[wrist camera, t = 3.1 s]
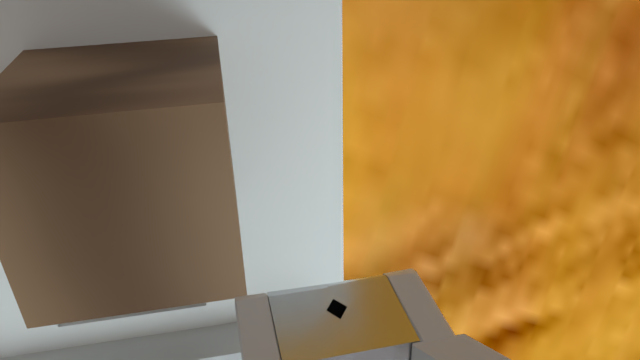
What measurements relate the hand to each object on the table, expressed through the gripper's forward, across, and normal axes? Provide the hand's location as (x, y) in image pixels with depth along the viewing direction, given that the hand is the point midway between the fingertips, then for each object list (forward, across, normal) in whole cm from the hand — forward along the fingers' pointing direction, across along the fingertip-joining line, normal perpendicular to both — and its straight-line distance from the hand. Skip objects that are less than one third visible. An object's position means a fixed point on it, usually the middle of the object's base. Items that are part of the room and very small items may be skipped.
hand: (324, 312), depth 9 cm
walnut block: (+9, +4, 0) cm, 9 cm away
